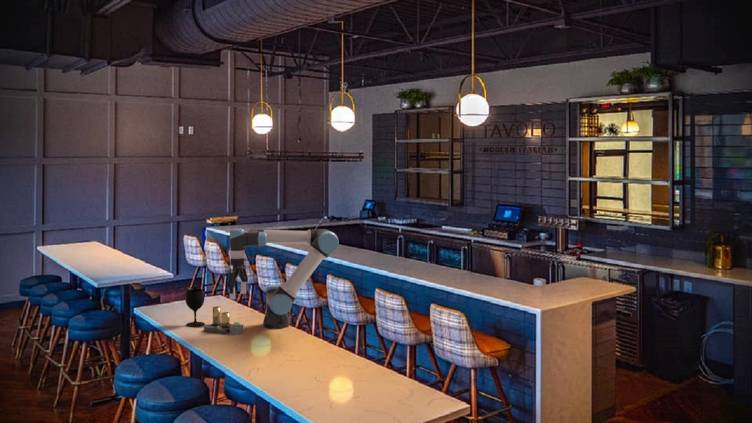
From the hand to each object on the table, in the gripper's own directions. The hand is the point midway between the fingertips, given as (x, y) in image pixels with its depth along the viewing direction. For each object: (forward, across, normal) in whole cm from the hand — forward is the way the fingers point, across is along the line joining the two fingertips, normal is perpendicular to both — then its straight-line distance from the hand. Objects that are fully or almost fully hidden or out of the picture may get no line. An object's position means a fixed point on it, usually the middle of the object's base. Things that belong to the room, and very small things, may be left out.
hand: (238, 296), depth 343 cm
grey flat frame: (+21, -4, -13) cm, 25 cm away
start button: (+17, -2, -2) cm, 18 cm away
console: (+21, -2, -2) cm, 21 cm away
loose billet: (+21, -14, -21) cm, 33 cm away
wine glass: (+21, -10, -32) cm, 40 cm away
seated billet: (+21, -4, -10) cm, 23 cm away
